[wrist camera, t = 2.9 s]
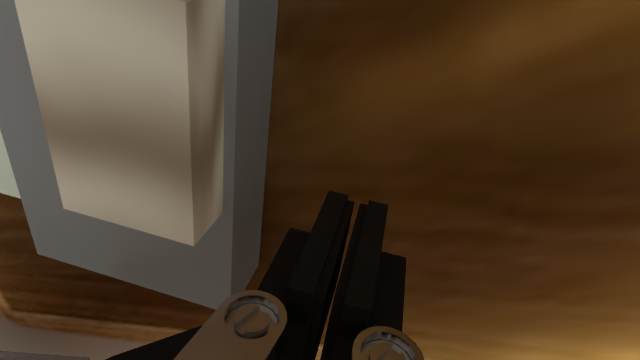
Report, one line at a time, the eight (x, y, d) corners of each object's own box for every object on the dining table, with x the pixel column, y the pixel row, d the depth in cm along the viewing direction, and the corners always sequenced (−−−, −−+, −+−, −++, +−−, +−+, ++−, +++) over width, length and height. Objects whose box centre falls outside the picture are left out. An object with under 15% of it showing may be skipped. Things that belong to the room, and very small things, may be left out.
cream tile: (70, -34, 14) (6, -33, 12) (225, -5, 13) (185, 1, 11) (105, 180, 19) (63, 208, 17) (222, 212, 18) (194, 246, 16)
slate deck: (-4, -249, 15) (-131, -310, 12) (295, -221, 13) (247, -283, 10) (88, 216, 26) (37, 253, 23) (258, 265, 24) (230, 314, 21)
